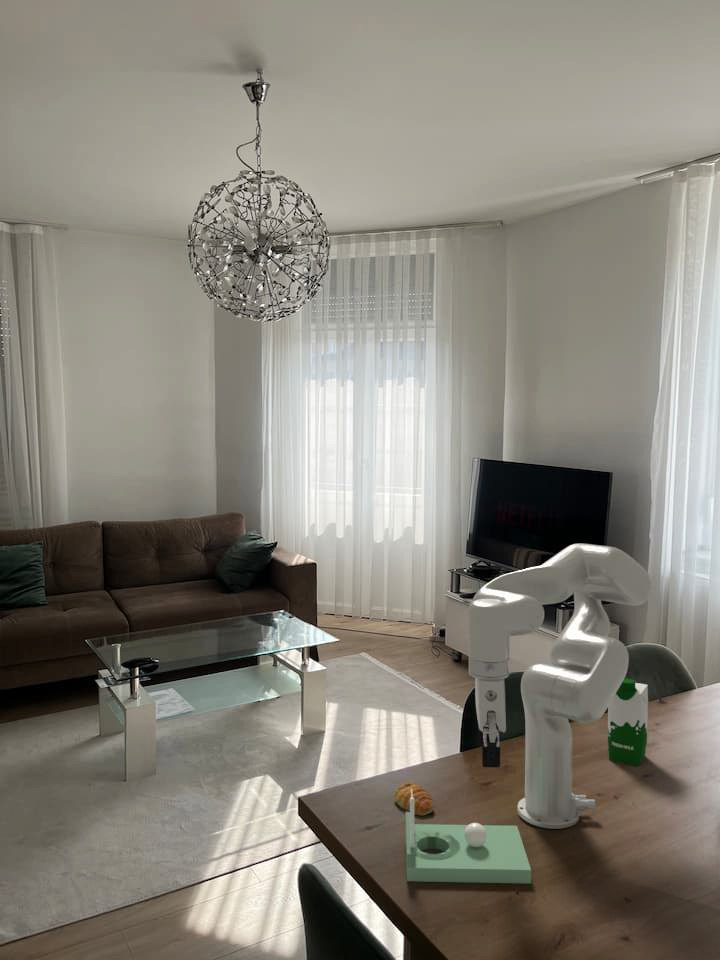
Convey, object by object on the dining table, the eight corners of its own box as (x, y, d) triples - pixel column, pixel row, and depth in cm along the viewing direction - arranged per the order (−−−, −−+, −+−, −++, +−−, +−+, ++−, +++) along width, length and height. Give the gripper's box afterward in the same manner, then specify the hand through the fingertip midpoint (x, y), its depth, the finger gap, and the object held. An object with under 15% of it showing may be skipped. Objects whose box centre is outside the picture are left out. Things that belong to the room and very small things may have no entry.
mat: (517, 838, 149) (517, 813, 149) (531, 883, 134) (531, 856, 134) (405, 836, 150) (405, 811, 149) (407, 881, 135) (406, 854, 135)
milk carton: (604, 760, 183) (605, 680, 182) (613, 747, 191) (614, 669, 190) (641, 769, 179) (643, 686, 177) (649, 755, 186) (651, 675, 185)
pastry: (442, 812, 160) (442, 794, 159) (416, 821, 156) (416, 803, 156) (415, 794, 168) (415, 777, 167) (390, 802, 164) (390, 785, 164)
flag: (413, 860, 141) (413, 788, 140) (414, 874, 137) (414, 799, 136) (409, 860, 141) (409, 788, 140) (410, 874, 137) (409, 799, 136)
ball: (485, 840, 144) (485, 818, 143) (488, 852, 139) (488, 830, 139) (463, 839, 144) (463, 818, 144) (465, 851, 140) (465, 830, 139)
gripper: (514, 682, 132) (514, 776, 133) (504, 652, 149) (504, 736, 150) (471, 681, 133) (471, 775, 134) (466, 652, 150) (466, 735, 151)
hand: (489, 754), depth 142 cm, fingers open, 9 cm apart
